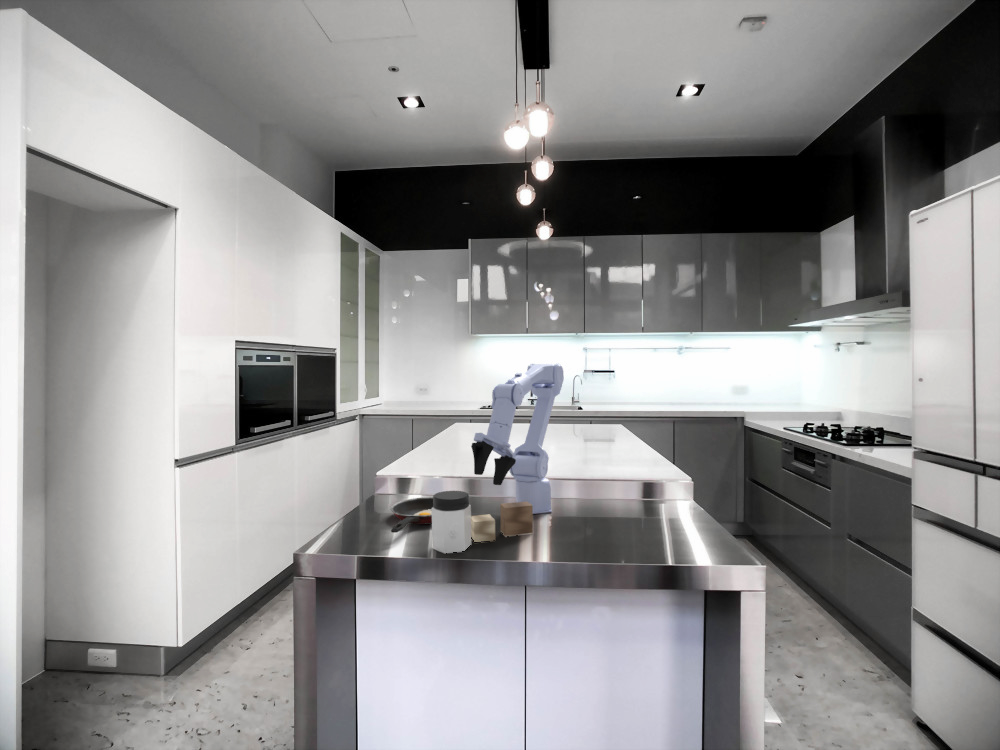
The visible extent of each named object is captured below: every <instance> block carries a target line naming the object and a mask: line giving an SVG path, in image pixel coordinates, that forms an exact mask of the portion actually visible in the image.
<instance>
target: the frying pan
mask: <svg viewBox="0 0 1000 750" xmlns="http://www.w3.org/2000/svg"><path fill="white" fill-rule="evenodd" d="M432 507H433V496H426V497H425V496H424V497H413V498H409V499H403V500H401V501H398V502H395V503H393V504H392V505H391V506H390V508H389V510H390V511H391V513H393V514H394V516H395V517H396V518H398V519H399V520H400V521H399V522H398V523H396V524H395V525H394V526H392V528H391V530H390V532H391V533H395V534H396V533H398V532H400V531H402V530H403V529H404V528H405V527H407V526H408V524H410V523H413V524H412V525H426V524H425V523H432V511H431V510H428V509H432Z"/></svg>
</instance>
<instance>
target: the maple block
mask: <svg viewBox="0 0 1000 750" xmlns="http://www.w3.org/2000/svg"><path fill="white" fill-rule="evenodd" d="M471 537H472V539H473V540H474V542H481V541H490V542H494V541H493V540H495V541H496V519H495V518H494V517H493V516H492V515H491V514H479V515H478V514H477V515H471ZM472 539H471V540H472ZM473 540H472V541H473ZM474 542H473V543H474ZM481 543H482V542H481Z"/></svg>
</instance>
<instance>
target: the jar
mask: <svg viewBox="0 0 1000 750" xmlns="http://www.w3.org/2000/svg"><path fill="white" fill-rule="evenodd" d="M432 497H433V507H432V524H431V538H432V539H431V541H432V542H431V544H432V545H431V546H432V547H431V548H432V549H433V550H435V551H437V552H439V553H441V554H446V553H447V554H454V553H453V552H457V553H463V552H462V551H465V550H466V549H467V548H468V547H469V546H470V545H471V546H472V539H471V516H472V507H471V506H472V505H471V504H470V494H469V493H468V492H466V491H462V490H446V491H445V490H444V491H440V492H437V493H434V494H433V496H432ZM471 546H470V547H471ZM470 547H469V548H470ZM469 548H468V549H469ZM466 551H467V550H466ZM466 551H465V552H466Z"/></svg>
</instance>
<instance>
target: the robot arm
mask: <svg viewBox="0 0 1000 750" xmlns="http://www.w3.org/2000/svg"><path fill="white" fill-rule="evenodd" d="M526 369H527V370H526V372H525V373H521V372H517V373H515V374H514V376H513V377H511V378H509V379H508V380H507V381H506V382H505V383H499V384H497V385H495V387H494V388H493V389H492V395H491V397H492V402H491V408H492V410H491V411H492V412H491V416H490V420H489V424H488V428H487V432H486V434H484V433H483V432H475V433H474V437H473V441H474V442H472V443H471V450H472V454H473V466H474V469H473V470H474V472H473V474H474V475H476V476H481V475H483V474H484V471H485V470H486V466H487V463H488V459H489V457H490V455H491V453H492V451H493V452H494V453H496V454H498V455H499V456H500V457H499V458H496V457H495V458H494V459H493V461H494V474H493V479H492V484H493V486H501V485H502V484H503V482H504V479H505V478H506V476H507V474H508V473H509V474H510V475H511V477H512V478H513V480H515V502H526V501H527V502H529V503H530V504H531V505H532V507H533V515H534V514H547V513H553V510H552V493H551V491H552V488H551V483H550V480H549V479H548V478H547V477H546V476H547V474H548V468H549V459H550V457H549V454H548V452H547V451H546V450H545V449H544V448H543V444H544V441H545V437H546V433H547V429H548V426H549V420H550V419H551V415H552V410H553V405H554V402H555V399H556V397H557V396H558V395H560V394H561V390H562V387H563V384H564V368H563V366H562V365H561V364H560V363H558V362H557V363H530V364H529V365H527V368H526ZM530 392H531V394H532V395H534V396H535V397H537V399H536V402H535V406H534V410H533V412H532V416H531V419H530V423H529V425H528V430H527V434H526V436H525V437H526V438H525V441H524V443H522V444H521V445H518V447H516V448H514V449H515V450H514V451H513V450H512V449H511V444H510V443H509V440H510V437H511V431H512V429H513V424H514V423H513V422H514V419H515V415H516V410H517V407H520V406H522V403H523V400H524V398H525V396H526V395H528V393H530Z"/></svg>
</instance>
